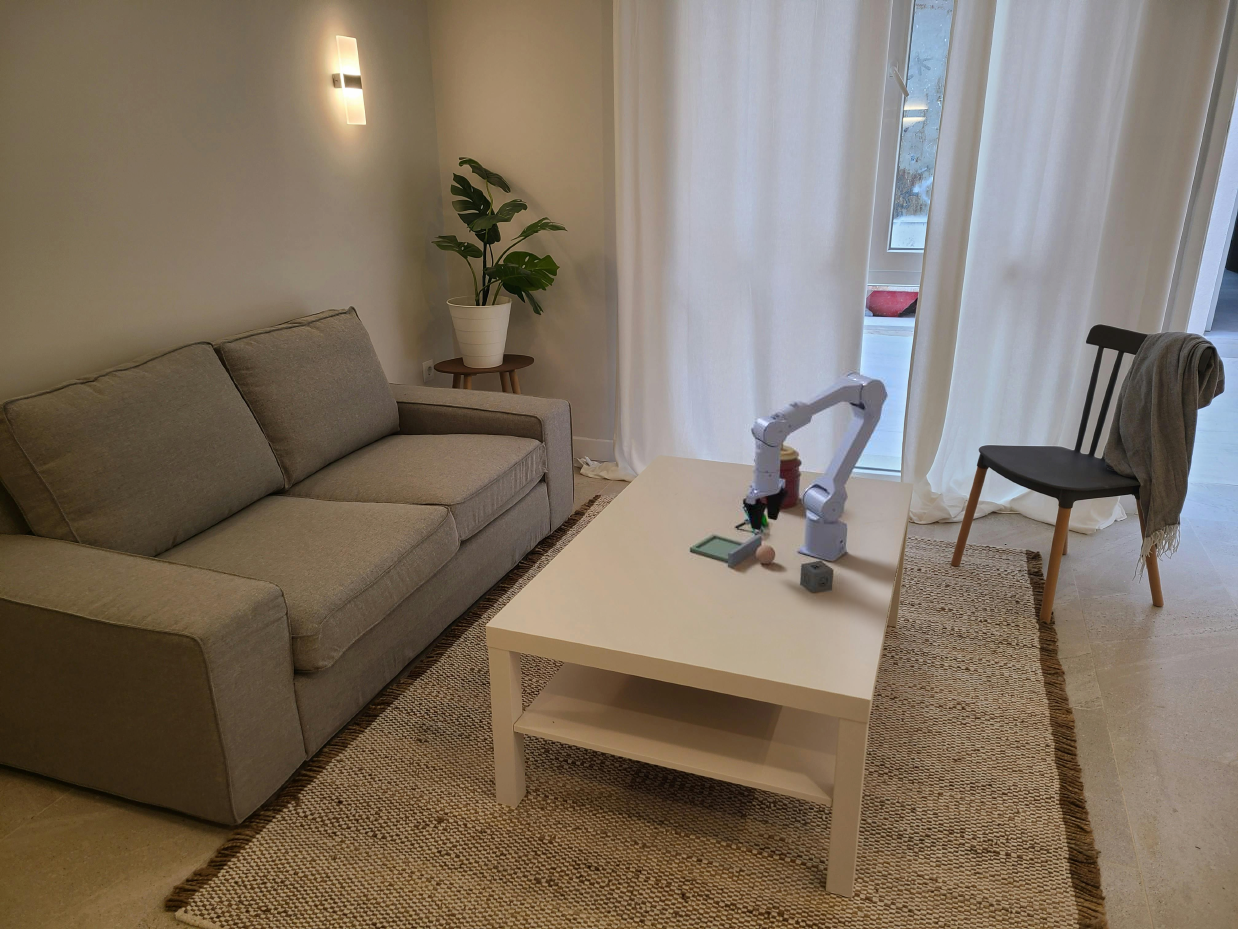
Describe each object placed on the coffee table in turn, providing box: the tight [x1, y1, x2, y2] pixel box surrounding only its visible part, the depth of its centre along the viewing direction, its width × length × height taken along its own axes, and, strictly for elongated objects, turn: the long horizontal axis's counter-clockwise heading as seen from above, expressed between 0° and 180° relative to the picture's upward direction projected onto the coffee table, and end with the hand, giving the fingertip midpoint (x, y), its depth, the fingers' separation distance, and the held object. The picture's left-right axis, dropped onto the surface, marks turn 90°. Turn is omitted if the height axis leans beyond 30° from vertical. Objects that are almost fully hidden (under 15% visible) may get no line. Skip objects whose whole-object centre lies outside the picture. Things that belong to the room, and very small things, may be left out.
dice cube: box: [799, 560, 834, 594], centre depth 190 cm, size 5×5×5 cm
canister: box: [753, 443, 803, 509], centre depth 239 cm, size 13×13×18 cm
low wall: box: [727, 533, 763, 568], centre depth 206 cm, size 1×14×4 cm, turn 142°
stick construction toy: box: [734, 505, 768, 535], centre depth 223 cm, size 12×7×8 cm
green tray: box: [689, 533, 744, 564], centre depth 210 cm, size 11×11×1 cm
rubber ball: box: [755, 544, 776, 565], centre depth 202 cm, size 4×4×4 cm
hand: (764, 523), depth 201 cm, fingers open, 7 cm apart
